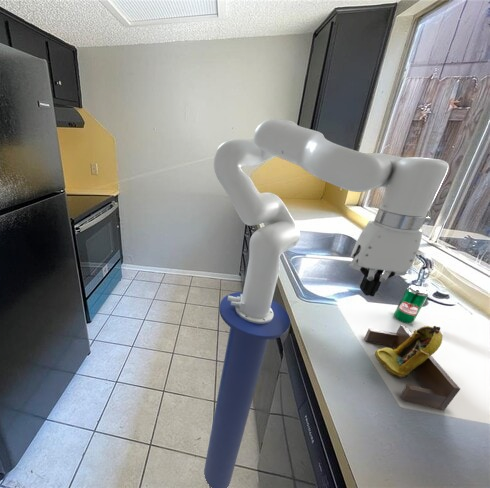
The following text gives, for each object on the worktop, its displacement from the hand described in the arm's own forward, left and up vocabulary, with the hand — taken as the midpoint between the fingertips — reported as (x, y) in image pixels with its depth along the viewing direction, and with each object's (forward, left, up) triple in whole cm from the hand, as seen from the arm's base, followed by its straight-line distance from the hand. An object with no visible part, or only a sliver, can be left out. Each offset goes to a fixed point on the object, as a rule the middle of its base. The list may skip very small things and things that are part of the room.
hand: (366, 292), depth 61 cm
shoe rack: (+14, 0, -21) cm, 25 cm away
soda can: (+27, +24, -21) cm, 42 cm away
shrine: (+14, -1, -21) cm, 25 cm away
